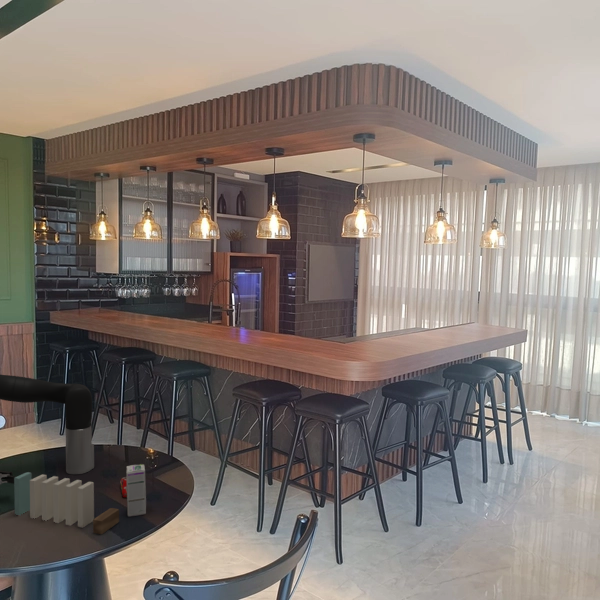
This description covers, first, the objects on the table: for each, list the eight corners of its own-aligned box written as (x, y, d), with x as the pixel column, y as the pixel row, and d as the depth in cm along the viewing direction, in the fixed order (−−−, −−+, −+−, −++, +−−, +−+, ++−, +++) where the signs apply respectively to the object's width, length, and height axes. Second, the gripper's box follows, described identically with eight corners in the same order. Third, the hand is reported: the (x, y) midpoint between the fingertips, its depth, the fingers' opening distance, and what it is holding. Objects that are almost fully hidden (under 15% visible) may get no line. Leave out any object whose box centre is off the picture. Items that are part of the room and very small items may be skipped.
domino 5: (65, 524, 154) (65, 486, 153) (77, 517, 159) (76, 479, 158) (70, 525, 153) (70, 486, 153) (82, 518, 158) (81, 480, 158)
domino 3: (41, 520, 157) (41, 482, 156) (54, 513, 161) (53, 476, 161) (46, 521, 156) (46, 483, 155) (58, 513, 161) (58, 476, 160)
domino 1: (14, 515, 160) (14, 477, 159) (27, 508, 164) (26, 472, 164) (19, 516, 159) (18, 478, 158) (31, 509, 164) (31, 472, 163)
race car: (138, 498, 173) (138, 486, 173) (121, 500, 171) (121, 489, 171) (135, 483, 186) (135, 472, 185) (119, 485, 184) (119, 474, 183)
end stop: (93, 532, 149) (93, 519, 149) (110, 520, 157) (110, 507, 157) (101, 534, 148) (101, 521, 148) (119, 521, 156) (118, 509, 156)
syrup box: (146, 514, 161) (146, 469, 160) (126, 517, 159) (126, 472, 158) (145, 506, 166) (145, 463, 166) (126, 509, 164) (126, 465, 164)
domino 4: (53, 522, 155) (53, 484, 155) (65, 515, 160) (65, 477, 159) (58, 523, 155) (57, 484, 154) (70, 515, 159) (69, 478, 159)
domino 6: (77, 526, 153) (77, 488, 152) (89, 519, 157) (88, 481, 157) (82, 527, 152) (82, 488, 152) (94, 520, 157) (93, 482, 156)
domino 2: (30, 518, 158) (29, 480, 157) (42, 510, 163) (42, 474, 162) (34, 518, 157) (34, 481, 157) (47, 511, 162) (46, 475, 162)
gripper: (-54, 476, 161) (-14, 482, 156) (-14, 460, 175) (23, 466, 170) (-53, 499, 161) (-13, 506, 157) (-14, 481, 175) (24, 488, 170)
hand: (6, 485), depth 163 cm, fingers open, 8 cm apart
